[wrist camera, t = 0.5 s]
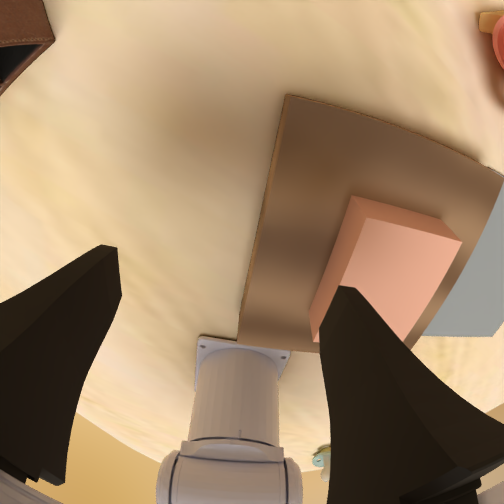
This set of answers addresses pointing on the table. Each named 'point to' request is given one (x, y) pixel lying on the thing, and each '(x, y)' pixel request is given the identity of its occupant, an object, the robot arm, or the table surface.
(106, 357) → the table surface
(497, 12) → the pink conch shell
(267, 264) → the step
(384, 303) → the tile
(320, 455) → the pacifier
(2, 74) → the letter holder
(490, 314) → the mat
